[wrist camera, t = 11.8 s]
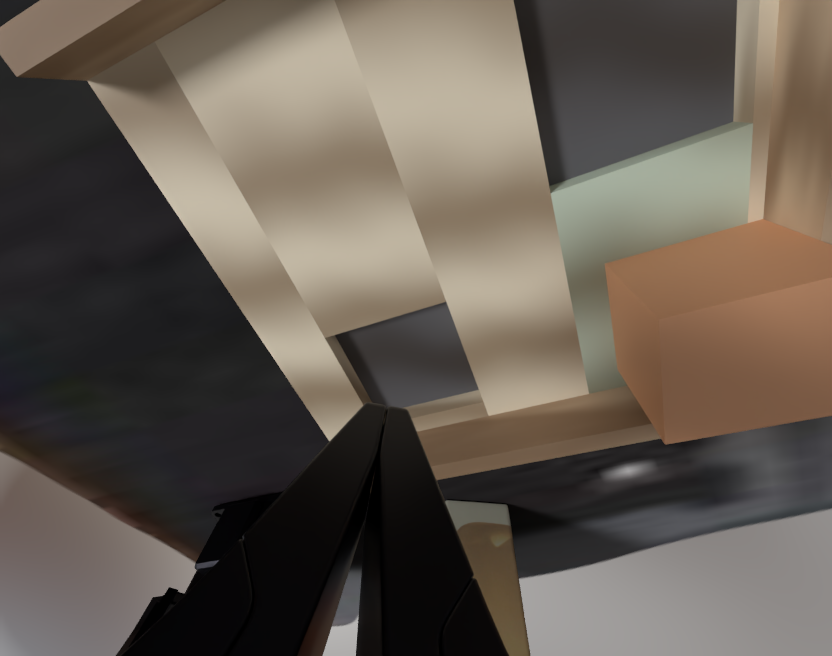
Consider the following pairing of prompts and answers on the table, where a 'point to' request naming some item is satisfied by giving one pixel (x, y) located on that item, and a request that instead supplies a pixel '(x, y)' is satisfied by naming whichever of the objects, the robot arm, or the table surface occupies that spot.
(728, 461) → the table surface
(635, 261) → the rust block
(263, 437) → the table surface
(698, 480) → the table surface
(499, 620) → the skincare box
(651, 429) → the tray
